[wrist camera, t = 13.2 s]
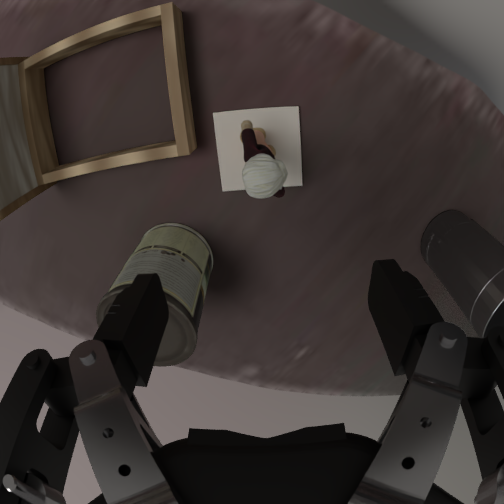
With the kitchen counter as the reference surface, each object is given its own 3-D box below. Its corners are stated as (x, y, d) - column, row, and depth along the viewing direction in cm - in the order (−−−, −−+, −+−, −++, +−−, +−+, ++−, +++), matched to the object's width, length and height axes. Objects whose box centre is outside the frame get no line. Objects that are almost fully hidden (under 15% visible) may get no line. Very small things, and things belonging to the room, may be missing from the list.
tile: (297, 106, 29) (298, 106, 29) (301, 184, 34) (302, 185, 33) (213, 112, 30) (212, 113, 29) (223, 189, 34) (222, 191, 34)
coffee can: (224, 281, 41) (212, 362, 28) (157, 294, 42) (127, 369, 30) (198, 212, 36) (168, 280, 23) (127, 232, 37) (77, 299, 25)
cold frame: (181, 4, 23) (134, -42, 11) (198, 156, 32) (161, 198, 20) (31, 59, 24) (-46, 66, 12) (52, 184, 33) (-15, 230, 21)
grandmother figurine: (223, 133, 30) (203, 157, 19) (252, 111, 29) (249, 122, 18) (267, 186, 33) (272, 238, 22) (295, 167, 32) (315, 209, 21)
